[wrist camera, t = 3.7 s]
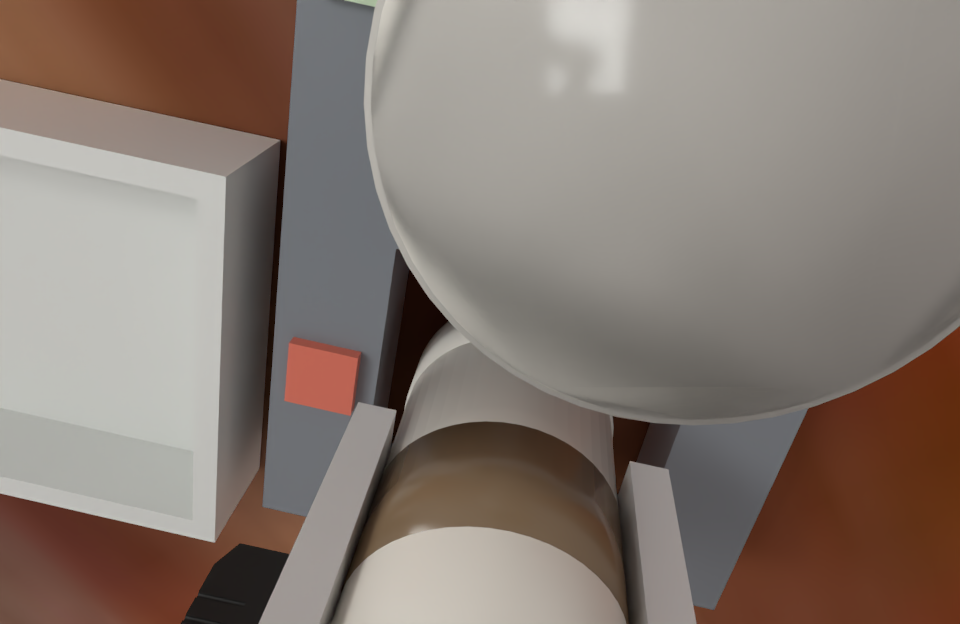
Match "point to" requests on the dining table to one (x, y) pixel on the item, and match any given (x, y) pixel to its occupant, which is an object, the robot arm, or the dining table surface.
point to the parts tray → (132, 309)
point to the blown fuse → (489, 505)
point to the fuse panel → (379, 306)
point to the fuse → (676, 191)
